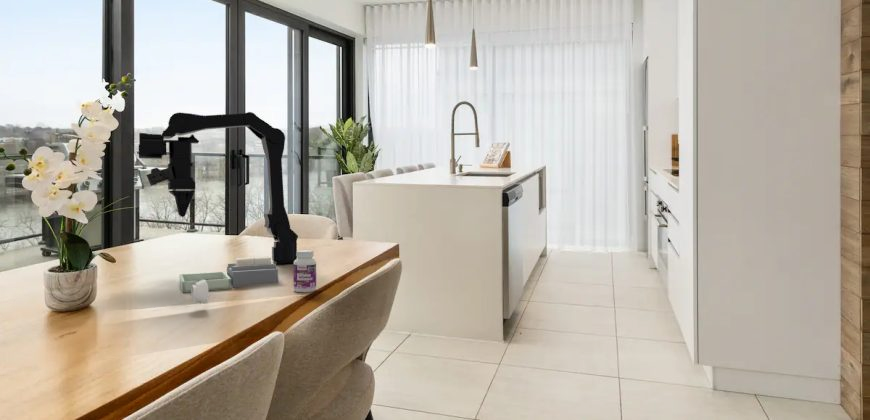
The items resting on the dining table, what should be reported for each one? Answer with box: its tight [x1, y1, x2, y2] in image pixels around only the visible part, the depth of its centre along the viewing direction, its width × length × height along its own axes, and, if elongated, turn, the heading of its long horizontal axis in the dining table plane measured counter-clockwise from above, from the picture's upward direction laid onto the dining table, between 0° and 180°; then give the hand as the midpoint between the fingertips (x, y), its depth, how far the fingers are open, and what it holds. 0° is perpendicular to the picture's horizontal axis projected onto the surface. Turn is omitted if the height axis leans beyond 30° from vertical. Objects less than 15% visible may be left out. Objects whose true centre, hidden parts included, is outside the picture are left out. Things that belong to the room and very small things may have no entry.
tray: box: [179, 271, 232, 293], centre depth 142 cm, size 11×14×2 cm
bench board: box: [226, 262, 279, 288], centre depth 147 cm, size 11×12×5 cm
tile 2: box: [252, 256, 272, 265], centre depth 148 cm, size 4×4×2 cm
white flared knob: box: [190, 280, 210, 304], centre depth 120 cm, size 5×3×5 cm, turn 33°
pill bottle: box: [292, 249, 317, 293], centre depth 135 cm, size 5×5×10 cm
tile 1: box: [234, 256, 254, 266], centre depth 146 cm, size 4×4×2 cm
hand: (181, 215), depth 155 cm, fingers open, 9 cm apart
